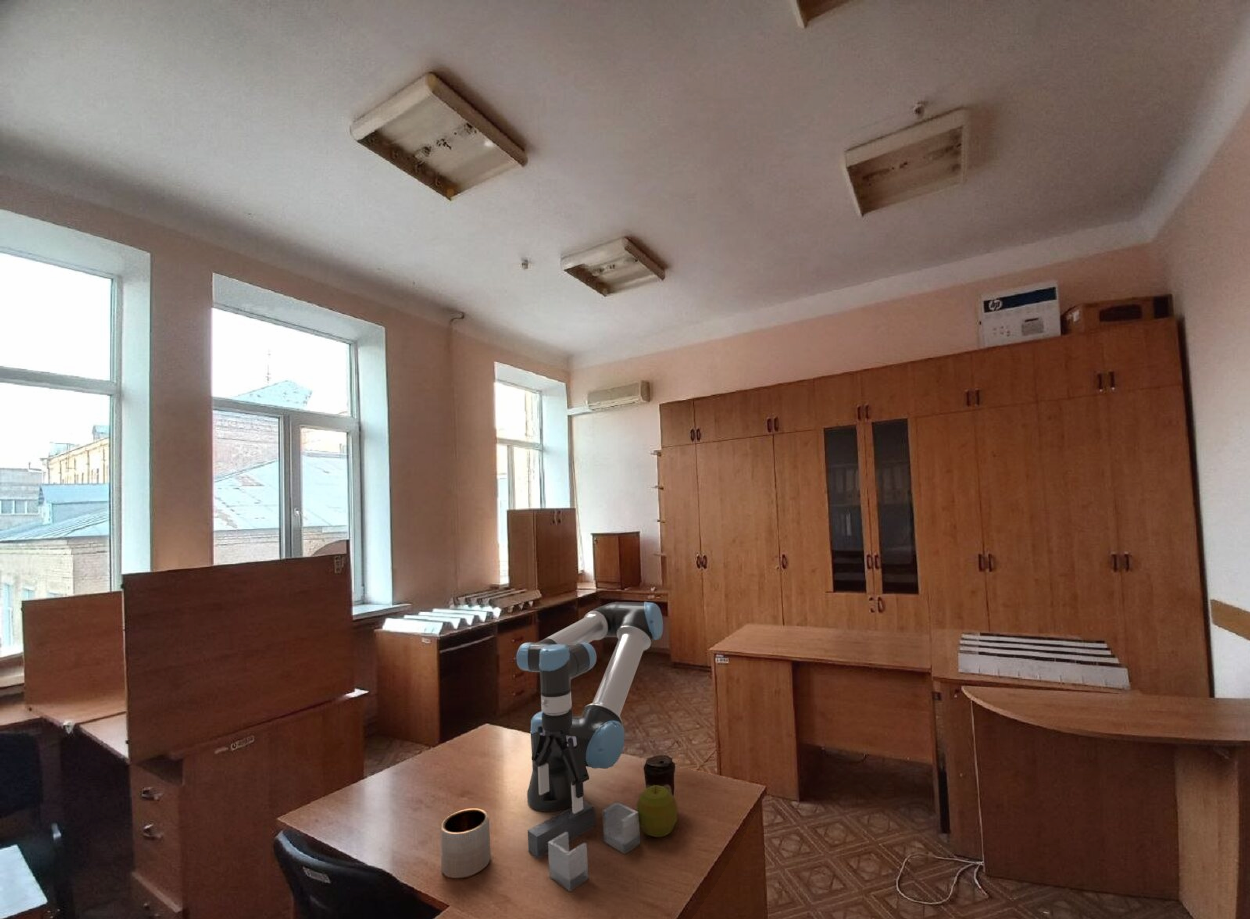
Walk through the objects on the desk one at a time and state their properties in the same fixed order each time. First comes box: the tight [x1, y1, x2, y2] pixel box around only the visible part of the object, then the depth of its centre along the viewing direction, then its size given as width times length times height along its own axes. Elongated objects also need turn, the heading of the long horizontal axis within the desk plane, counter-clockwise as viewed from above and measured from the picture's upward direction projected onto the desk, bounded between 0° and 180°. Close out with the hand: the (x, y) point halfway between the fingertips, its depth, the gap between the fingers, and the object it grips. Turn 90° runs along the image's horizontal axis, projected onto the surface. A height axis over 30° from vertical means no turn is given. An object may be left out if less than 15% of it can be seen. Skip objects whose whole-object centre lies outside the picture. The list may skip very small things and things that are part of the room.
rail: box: [527, 800, 596, 860], centre depth 129 cm, size 4×17×5 cm, turn 132°
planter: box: [440, 807, 492, 879], centre depth 122 cm, size 11×11×10 cm
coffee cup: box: [642, 754, 676, 798], centre depth 138 cm, size 9×8×13 cm
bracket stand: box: [547, 801, 641, 892], centre depth 120 cm, size 7×21×7 cm, turn 134°
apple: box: [636, 785, 678, 838], centre depth 129 cm, size 10×10×11 cm
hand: (560, 801), depth 129 cm, fingers open, 13 cm apart
